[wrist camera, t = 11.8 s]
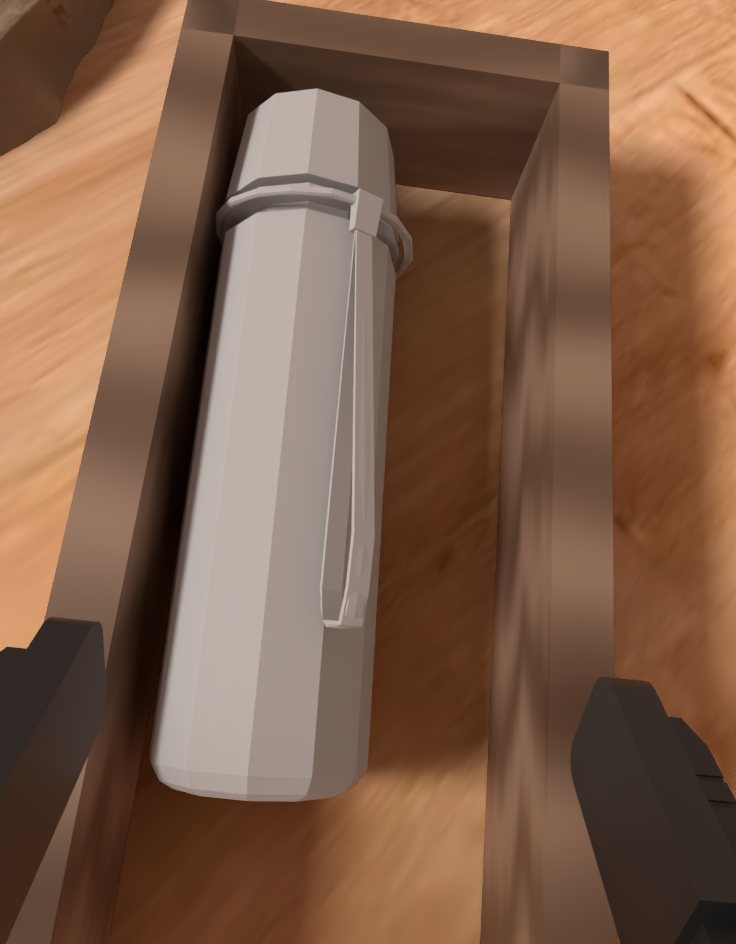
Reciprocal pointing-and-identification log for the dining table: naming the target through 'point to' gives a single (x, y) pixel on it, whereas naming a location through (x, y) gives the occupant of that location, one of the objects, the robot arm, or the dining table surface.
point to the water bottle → (287, 467)
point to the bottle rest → (522, 438)
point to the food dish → (41, 60)
